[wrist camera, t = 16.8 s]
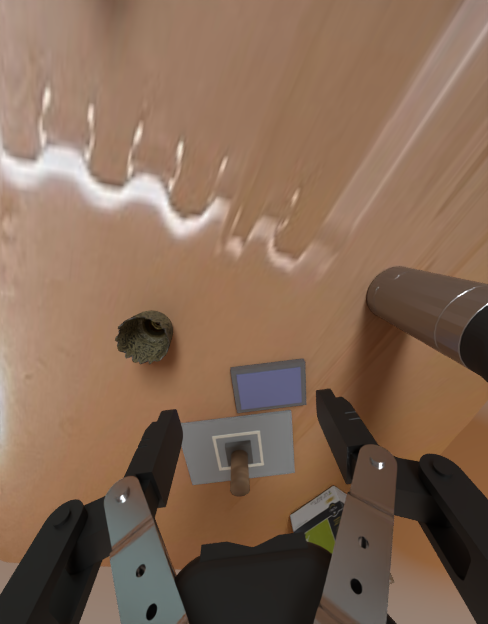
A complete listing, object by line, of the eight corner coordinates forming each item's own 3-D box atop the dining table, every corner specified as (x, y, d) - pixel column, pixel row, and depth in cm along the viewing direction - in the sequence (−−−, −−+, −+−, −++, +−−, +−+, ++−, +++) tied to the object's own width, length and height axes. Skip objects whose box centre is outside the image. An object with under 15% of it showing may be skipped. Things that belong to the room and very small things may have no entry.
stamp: (250, 439, 49) (253, 478, 41) (252, 458, 50) (256, 497, 43) (225, 442, 49) (223, 481, 41) (228, 461, 50) (227, 501, 43)
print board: (290, 409, 47) (291, 412, 46) (294, 470, 53) (294, 473, 52) (176, 423, 47) (175, 426, 46) (193, 482, 53) (192, 486, 52)
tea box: (313, 528, 61) (337, 616, 47) (288, 513, 58) (305, 601, 45) (357, 500, 58) (397, 585, 44) (333, 483, 55) (367, 567, 41)
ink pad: (303, 358, 43) (305, 362, 42) (304, 400, 46) (306, 405, 45) (230, 367, 43) (230, 372, 42) (237, 408, 46) (237, 414, 45)
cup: (173, 346, 41) (159, 371, 34) (133, 332, 40) (109, 355, 32) (186, 310, 39) (175, 329, 31) (144, 294, 38) (121, 309, 30)
